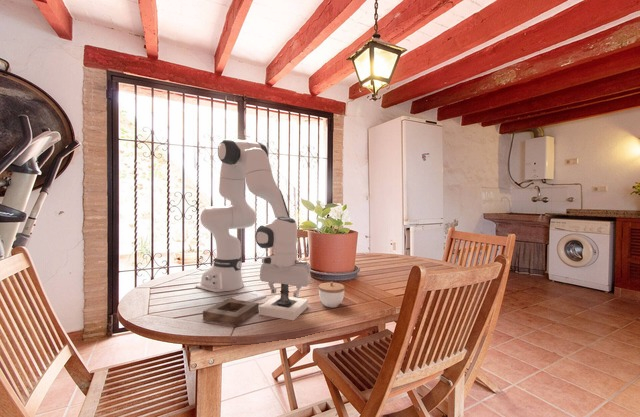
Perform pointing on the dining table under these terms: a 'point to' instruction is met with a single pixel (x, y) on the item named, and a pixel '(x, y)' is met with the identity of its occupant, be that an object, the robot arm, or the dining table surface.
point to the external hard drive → (249, 296)
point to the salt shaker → (284, 297)
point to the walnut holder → (233, 318)
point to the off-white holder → (283, 308)
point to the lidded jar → (331, 294)
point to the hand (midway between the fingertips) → (284, 294)
